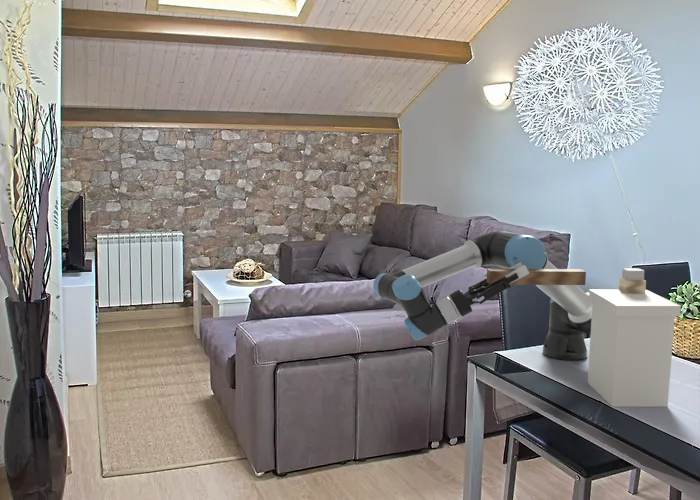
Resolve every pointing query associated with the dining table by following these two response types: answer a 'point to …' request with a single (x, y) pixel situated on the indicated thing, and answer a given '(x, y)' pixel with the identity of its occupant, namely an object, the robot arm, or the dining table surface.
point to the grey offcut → (633, 274)
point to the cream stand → (631, 347)
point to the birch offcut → (632, 286)
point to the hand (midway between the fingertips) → (524, 267)
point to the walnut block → (541, 276)
